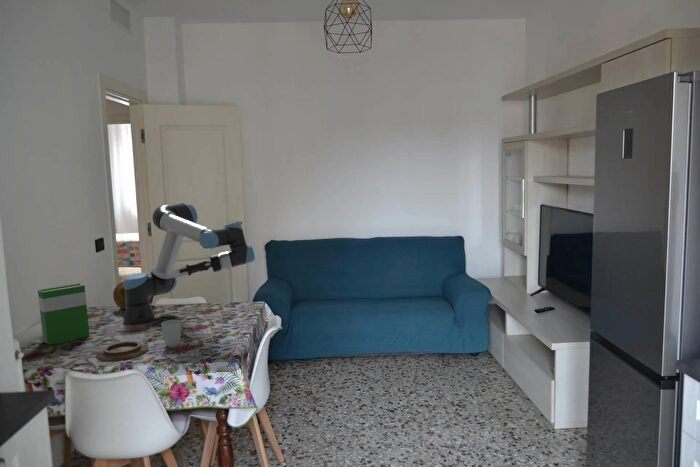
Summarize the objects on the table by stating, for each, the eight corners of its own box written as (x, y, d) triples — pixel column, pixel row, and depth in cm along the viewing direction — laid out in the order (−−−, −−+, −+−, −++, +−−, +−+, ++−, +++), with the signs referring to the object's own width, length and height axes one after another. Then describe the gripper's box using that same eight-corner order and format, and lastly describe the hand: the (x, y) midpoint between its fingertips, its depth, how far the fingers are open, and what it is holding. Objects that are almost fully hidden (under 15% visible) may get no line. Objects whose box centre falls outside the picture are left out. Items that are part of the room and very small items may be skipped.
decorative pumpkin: (113, 305, 309) (113, 270, 307) (152, 303, 318) (152, 269, 315) (113, 315, 291) (113, 278, 289) (154, 312, 299) (155, 277, 297)
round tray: (117, 343, 241) (117, 338, 241) (157, 345, 236) (157, 340, 236) (85, 359, 222) (85, 353, 221) (128, 362, 217) (128, 356, 216)
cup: (186, 342, 239) (184, 320, 238) (174, 348, 231) (172, 325, 230) (170, 341, 242) (169, 319, 240) (158, 347, 234) (157, 324, 233)
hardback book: (84, 332, 261) (79, 283, 258) (89, 335, 255) (84, 285, 252) (43, 341, 249) (37, 290, 246) (47, 345, 243) (42, 292, 240)
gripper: (223, 268, 235) (173, 281, 229) (221, 271, 259) (175, 283, 252) (219, 251, 235) (168, 264, 229) (217, 256, 259) (171, 268, 253)
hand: (172, 274), depth 241 cm, fingers open, 13 cm apart
